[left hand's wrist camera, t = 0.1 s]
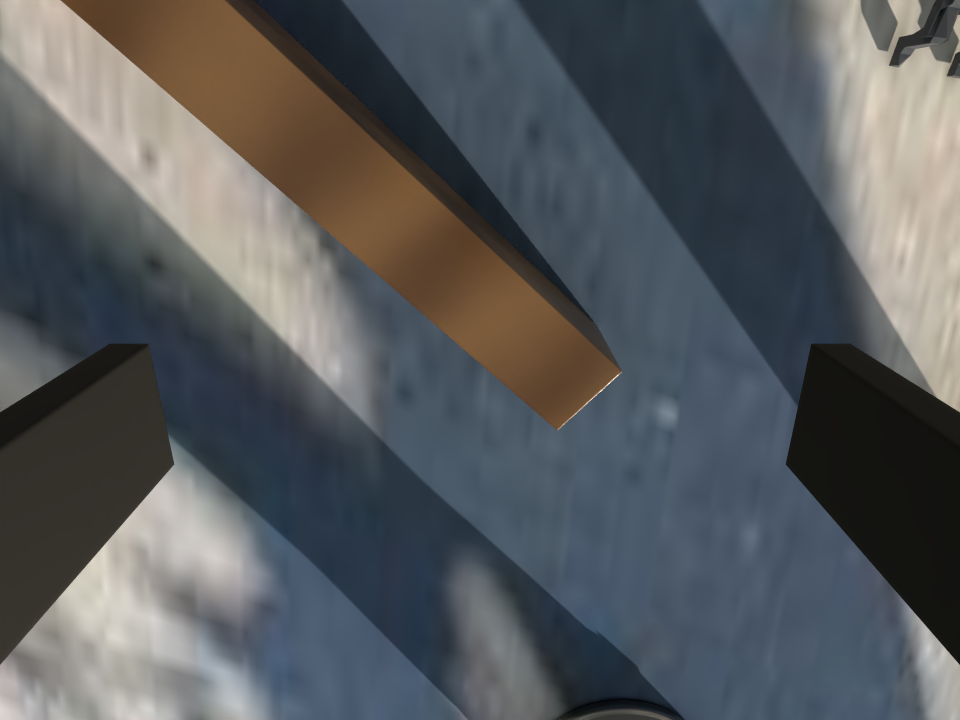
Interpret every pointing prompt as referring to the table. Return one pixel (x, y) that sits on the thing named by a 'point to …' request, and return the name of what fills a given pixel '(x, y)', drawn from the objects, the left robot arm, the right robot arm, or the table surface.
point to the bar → (364, 189)
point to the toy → (931, 34)
